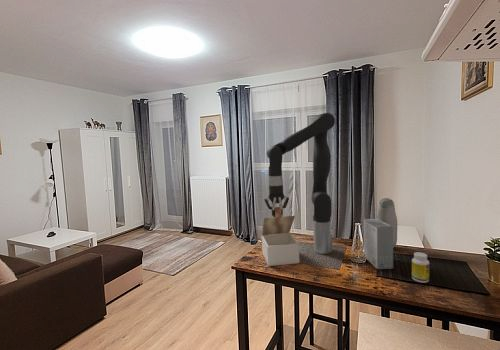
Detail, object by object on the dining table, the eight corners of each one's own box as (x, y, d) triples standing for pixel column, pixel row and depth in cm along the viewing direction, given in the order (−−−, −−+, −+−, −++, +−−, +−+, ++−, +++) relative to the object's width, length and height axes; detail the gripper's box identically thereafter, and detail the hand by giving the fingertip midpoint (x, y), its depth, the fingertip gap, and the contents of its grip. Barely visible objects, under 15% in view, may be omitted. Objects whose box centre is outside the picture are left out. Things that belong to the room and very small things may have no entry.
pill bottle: (429, 284, 105) (429, 258, 104) (411, 281, 109) (411, 255, 108) (428, 277, 111) (429, 252, 110) (411, 274, 114) (411, 250, 113)
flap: (289, 232, 148) (286, 222, 152) (294, 216, 135) (292, 205, 139) (261, 235, 147) (259, 224, 151) (264, 219, 133) (262, 208, 137)
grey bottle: (375, 244, 151) (375, 196, 148) (395, 245, 147) (395, 196, 145) (377, 250, 141) (377, 200, 139) (399, 252, 138) (399, 200, 135)
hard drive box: (393, 269, 120) (393, 227, 118) (377, 269, 120) (376, 227, 118) (378, 255, 135) (377, 218, 134) (363, 256, 136) (362, 218, 134)
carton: (289, 249, 149) (289, 232, 148) (299, 262, 132) (298, 243, 131) (262, 252, 148) (261, 235, 147) (268, 266, 130) (267, 246, 129)
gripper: (287, 182, 142) (288, 213, 144) (261, 184, 141) (263, 216, 142) (290, 184, 135) (292, 217, 136) (264, 186, 133) (265, 219, 135)
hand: (277, 216), depth 139 cm, fingers closed on flap, 3 cm apart
